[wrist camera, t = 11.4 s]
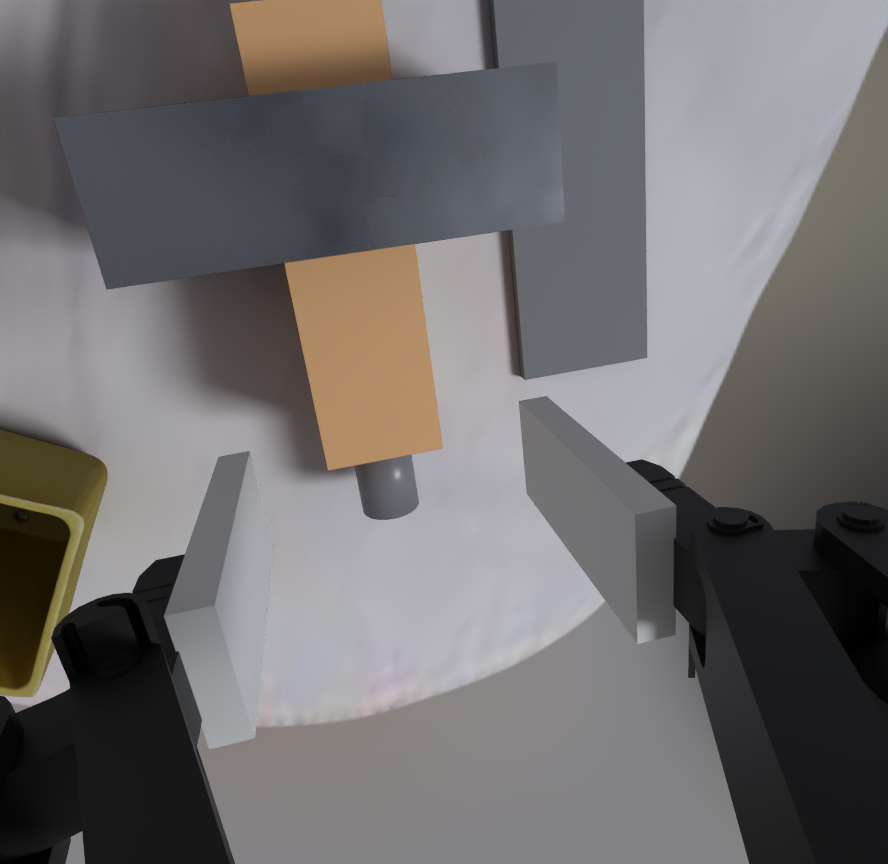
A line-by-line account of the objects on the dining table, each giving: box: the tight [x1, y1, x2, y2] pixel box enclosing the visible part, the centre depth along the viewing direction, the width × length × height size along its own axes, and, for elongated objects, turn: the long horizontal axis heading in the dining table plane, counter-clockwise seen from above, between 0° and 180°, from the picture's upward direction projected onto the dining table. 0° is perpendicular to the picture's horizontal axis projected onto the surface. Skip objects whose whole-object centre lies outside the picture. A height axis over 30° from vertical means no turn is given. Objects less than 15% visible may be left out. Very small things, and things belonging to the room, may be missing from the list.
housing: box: [53, 62, 565, 289], centre depth 25 cm, size 5×16×10 cm, turn 97°
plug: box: [230, 0, 443, 520], centre depth 29 cm, size 21×5×7 cm, turn 7°
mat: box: [490, 0, 647, 380], centre depth 31 cm, size 22×7×1 cm, turn 7°
